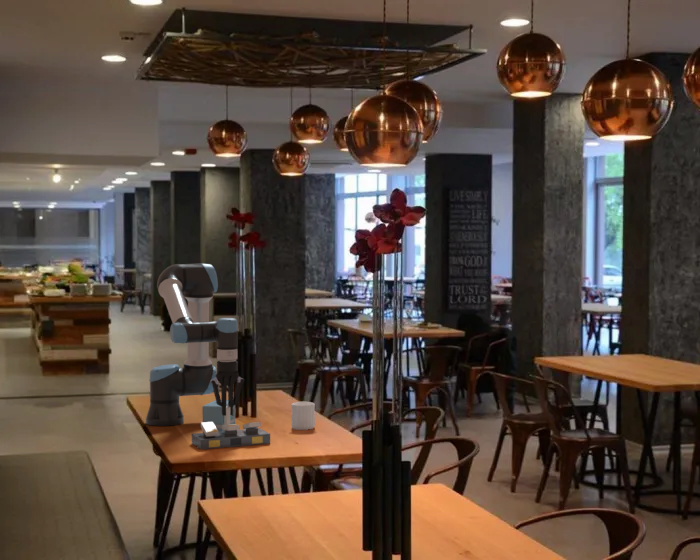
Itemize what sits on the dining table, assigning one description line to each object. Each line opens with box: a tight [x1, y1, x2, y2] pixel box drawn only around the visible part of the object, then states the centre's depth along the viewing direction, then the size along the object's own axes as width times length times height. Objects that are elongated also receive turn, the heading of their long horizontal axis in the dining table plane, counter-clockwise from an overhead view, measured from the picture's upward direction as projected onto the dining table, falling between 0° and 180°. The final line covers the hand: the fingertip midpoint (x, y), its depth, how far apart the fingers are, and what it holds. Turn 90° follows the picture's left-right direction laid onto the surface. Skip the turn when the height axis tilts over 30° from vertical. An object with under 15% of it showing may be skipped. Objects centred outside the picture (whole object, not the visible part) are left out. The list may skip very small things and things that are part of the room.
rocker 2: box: [222, 423, 241, 431], centre depth 367 cm, size 8×4×2 cm, turn 24°
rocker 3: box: [242, 421, 262, 430], centre depth 370 cm, size 8×4×2 cm, turn 24°
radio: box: [201, 380, 237, 432], centre depth 386 cm, size 16×9×20 cm, turn 168°
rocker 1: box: [200, 421, 219, 437], centre depth 364 cm, size 8×4×2 cm, turn 24°
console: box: [191, 427, 271, 450], centre depth 367 cm, size 12×26×5 cm, turn 114°
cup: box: [291, 401, 316, 431], centre depth 397 cm, size 10×10×10 cm
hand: (227, 424), depth 371 cm, fingers closed
